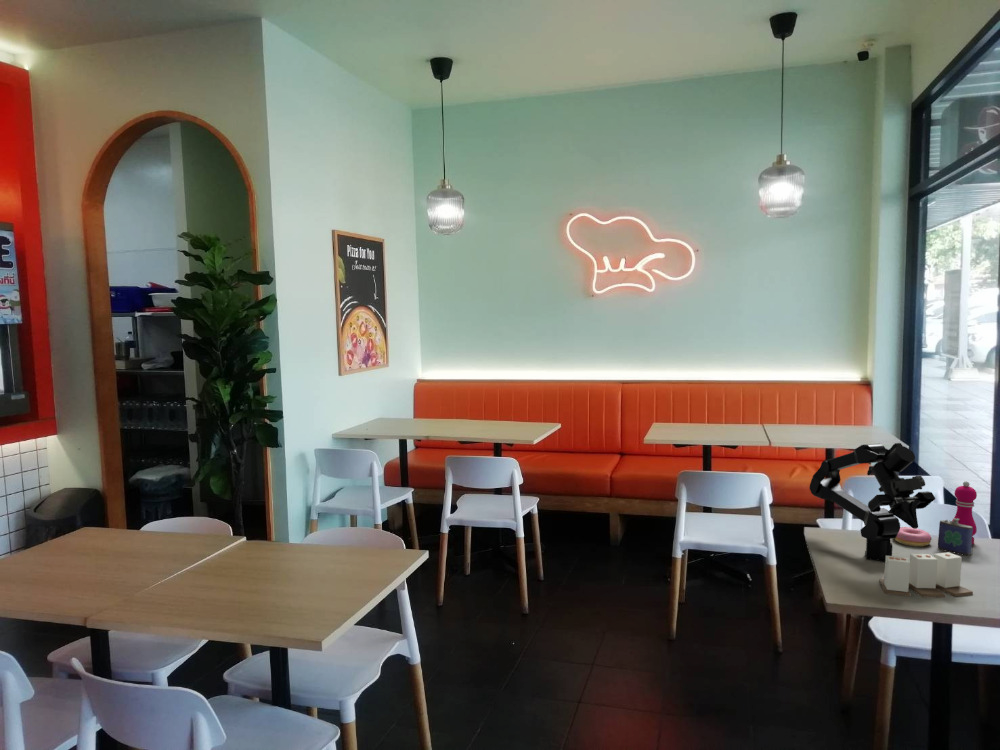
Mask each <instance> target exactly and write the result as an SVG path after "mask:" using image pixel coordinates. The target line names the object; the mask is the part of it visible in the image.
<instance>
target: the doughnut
mask: <svg viewBox="0 0 1000 750" xmlns="http://www.w3.org/2000/svg"><path fill="white" fill-rule="evenodd" d="M894 540H895V541H896V542H897V543H899V544H901V543H902V544H901V545H905V546H909V545H910V547H917V546H921V547H926V545H927V546H928V545H930V544H931V541H932V540H933V538H932V536H931V534H930V533H929V532H927V531H926V530H924V529H920V528H917V529H913V528H912V527H911V526H909V527H908V526H904V527H903V526H900V530H899V532H898V534H897V536H896V538H895V539H894Z"/></svg>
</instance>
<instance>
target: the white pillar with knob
mask: <svg viewBox="0 0 1000 750" xmlns="http://www.w3.org/2000/svg"><path fill="white" fill-rule="evenodd" d="M933 557H934V558H936V559H937V574H936V584H937V585H940V586H942V587H944V588H948V587H956V586H961V574H962V572H961V571H962V560H963V559H962V558H963V557H962V556H960V555H958V554H956V553H953V552H948V551H946V552H938V553H934V554H933Z"/></svg>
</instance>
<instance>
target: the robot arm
mask: <svg viewBox="0 0 1000 750" xmlns="http://www.w3.org/2000/svg"><path fill="white" fill-rule="evenodd" d="M915 460H916V456H915V453H914V451H912V450H911V449H910V448H908V447H907V446H904V445H903V444H902V443H901V442H894V443H893V445H892V446H891V447H890V448H886V447H885V446H884V445H883V444H882V443H880V442H879V443H866V444H861V445H859V446H858V447H856V448H855V449H854V450H853V451H852V452H850V453H846V454H843V455H839V456H837V457H833V458H830V459H825V460H823V461H822V462H821V465H819V468H818V469H817V471H816V472H814V474H813V475H812V478H811V479H810V483H809V491H810V493H811V495H813V496H814V497H816V498H818V499H822V500H826V501H830V502H833V503H834V504H835V505H837V506H838V507H840V508H841V509H843V510H845V511H846V512H848V513H850V514H851V515H852V516H853V517H856V518H857V519H859V520H860V521H861V522H863V525H864V526H863V527H862V528H860V535H861V538H864V539H866V543H865V544H866V545H865V550H864V552H865V553H864V554H865V559H867V560H873V561H880V562H881V561H882V562H885V560H886V556H893V543H892V542H891V540H892V539H894V540H895V538H896V536H897V534H898V532H899V530H900V527H901V523H900V520H901V521H902V522H904V523H905V524H906V525H908V526H909V527H911V528H913V529H919V523H918V517H917V516H918V515H917V510H919V509H922V510H923V509H925V508H926V507H928V506H929V505H930V504H931V503H933V502H934V501H935V500H936V497H935V496H934V493H933V492H932V491H929V490H927V491H918V492H917V493H916V494H915V495H913V494H914V493H915V492H914V491H917V490H922V489H923V487H925V486H926V482H925V479H924V477H923V476H922V475H914V476H912V478H910V477H909V478H904V477H900V476H899V474H898V473H901V472H902V471H904V470H905V469H906V468H907V467H908V466H909V465H911V464H912V463H913V462H914V461H915ZM872 463H874V465H869V466H868V470H867V473H866V475H867V476H874V478H875V479H876V481H877V482H878V484H879V486H880V487H879V488H878V491H879V492H880V493H882V492H883V493H882V494H876V495H874V497H872V498H871V500H869V501H868V503H867V504H865V503H864V502H862V501H861V500H859V499H857V498H856V497H853V496H852V495H850V494H849V493H847V492H846V491H844V490H843V489H842V486H841V484H840V483H841V474H840V471H841V470H844V469H847V468H850V467H851V468H852V467H854V466H855V467H856V466H858V465H861V464H872ZM829 473H831V476H830V477H827V476H828V475H829ZM912 495H913V496H912ZM885 506H887V507H889V510H888V509H887V508H884V507H885ZM882 507H883V508H882ZM899 519H900V520H899Z"/></svg>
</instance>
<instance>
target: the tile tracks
mask: <svg viewBox="0 0 1000 750" xmlns="http://www.w3.org/2000/svg"><path fill="white" fill-rule="evenodd" d="M878 582H879V585H880V586H881V589H882V591H883V592H884V594H889V595H896V594H897V595H896V596H904V595H906V596H907V597H911V592H910V590H911V589H912V591H913V592H914V591H915V592H914V593H916V594H917V595H918V594H919V596H920V597H921V596H922V597H921V598H946V594H948V595H950V596H951V597H954V598H956V597H962V596H963V597H964V596H970V595H971V596H972V595H973V593H974V591H973V590H971V589H968V588H966V587H963V586H961V585H960V586H956V587H948V588H944V587H942V586H940V585H937V584H936V588H916V587H914V586H913V585H912V584H910V583H909V587H908V592H903V591H895V590H887V589H886V587H885V585H884V579H883V578H879V579H878ZM909 589H910V590H909Z"/></svg>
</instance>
